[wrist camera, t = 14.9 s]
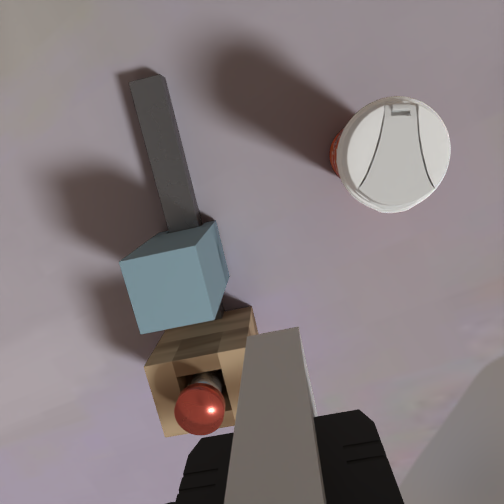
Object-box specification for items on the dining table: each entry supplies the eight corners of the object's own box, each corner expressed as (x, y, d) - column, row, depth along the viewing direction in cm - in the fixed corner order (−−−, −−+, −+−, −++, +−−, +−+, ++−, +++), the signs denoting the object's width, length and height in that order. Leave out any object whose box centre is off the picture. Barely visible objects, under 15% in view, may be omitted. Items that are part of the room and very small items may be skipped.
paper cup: (319, 112, 42) (341, 94, 28) (401, 111, 42) (463, 92, 28) (317, 195, 44) (337, 215, 30) (395, 194, 43) (452, 215, 30)
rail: (135, 85, 42) (128, 82, 40) (165, 77, 42) (159, 74, 40) (197, 316, 47) (193, 324, 45) (224, 311, 47) (222, 318, 45)
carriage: (158, 232, 45) (118, 261, 33) (215, 220, 44) (195, 245, 33) (174, 287, 46) (140, 334, 34) (229, 276, 46) (214, 319, 34)
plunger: (183, 359, 41) (168, 395, 35) (225, 351, 41) (217, 386, 35) (194, 397, 42) (181, 439, 36) (235, 389, 41) (229, 430, 35)
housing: (170, 322, 47) (143, 366, 38) (251, 306, 47) (246, 347, 37) (186, 380, 49) (165, 437, 39) (265, 365, 48) (264, 420, 38)
